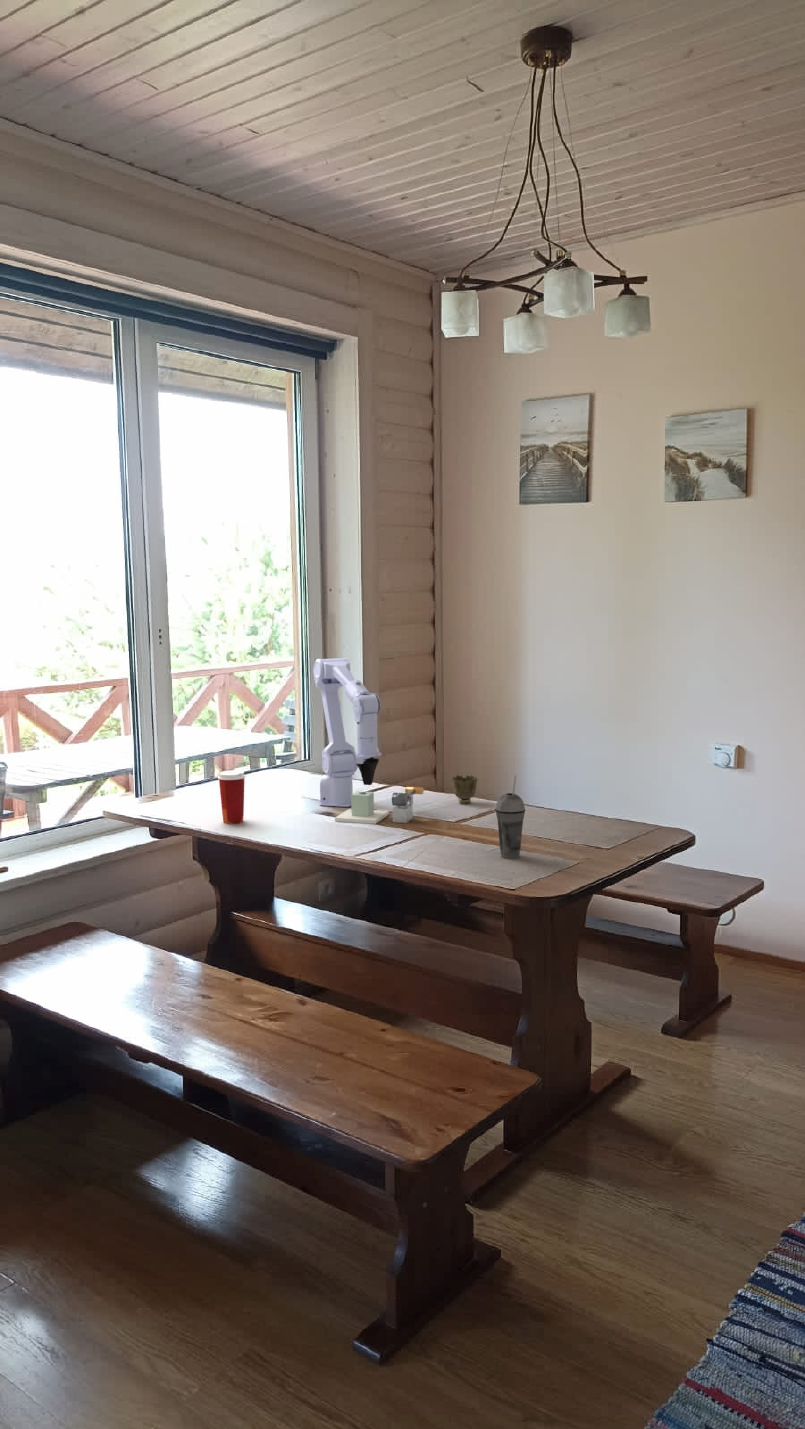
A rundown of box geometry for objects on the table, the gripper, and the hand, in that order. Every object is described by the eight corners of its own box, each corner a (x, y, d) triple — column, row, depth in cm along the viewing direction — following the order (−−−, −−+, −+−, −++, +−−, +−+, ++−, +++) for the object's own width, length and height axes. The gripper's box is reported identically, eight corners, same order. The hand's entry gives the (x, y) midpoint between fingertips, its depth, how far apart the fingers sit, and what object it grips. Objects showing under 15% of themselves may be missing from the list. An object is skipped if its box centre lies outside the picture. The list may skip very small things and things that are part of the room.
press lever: (389, 806, 278) (389, 793, 277) (407, 793, 294) (407, 781, 294) (406, 807, 276) (406, 794, 276) (423, 794, 293) (423, 782, 292)
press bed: (335, 821, 281) (335, 817, 281) (349, 811, 293) (349, 808, 293) (375, 823, 278) (375, 820, 278) (388, 814, 289) (388, 810, 289)
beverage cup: (492, 852, 247) (492, 773, 245) (521, 851, 248) (522, 772, 245) (498, 861, 240) (498, 778, 237) (528, 859, 241) (528, 778, 238)
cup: (477, 800, 305) (477, 774, 304) (477, 806, 298) (476, 779, 297) (453, 800, 306) (452, 774, 305) (451, 805, 299) (451, 779, 298)
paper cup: (252, 819, 285) (250, 771, 283) (237, 825, 278) (235, 776, 276) (229, 817, 288) (227, 769, 286) (213, 823, 281) (211, 774, 279)
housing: (351, 815, 283) (351, 794, 283) (357, 811, 288) (357, 790, 287) (368, 816, 282) (368, 795, 281) (374, 812, 287) (373, 791, 286)
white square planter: (392, 822, 280) (391, 798, 279) (398, 817, 285) (398, 794, 284) (407, 823, 278) (406, 799, 277) (413, 818, 284) (413, 795, 283)
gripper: (372, 741, 275) (372, 790, 277) (388, 733, 289) (389, 780, 291) (348, 740, 277) (348, 789, 279) (365, 732, 291) (366, 779, 293)
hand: (367, 784), depth 285 cm, fingers closed
